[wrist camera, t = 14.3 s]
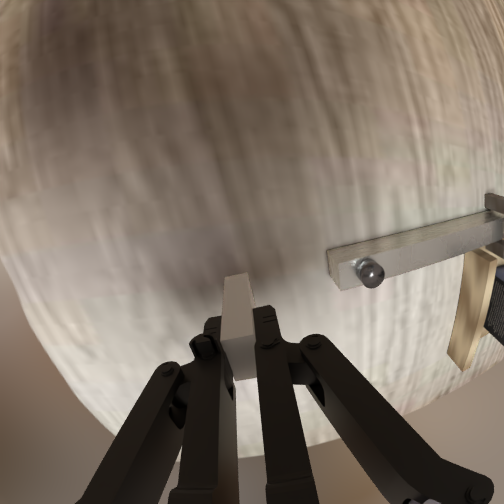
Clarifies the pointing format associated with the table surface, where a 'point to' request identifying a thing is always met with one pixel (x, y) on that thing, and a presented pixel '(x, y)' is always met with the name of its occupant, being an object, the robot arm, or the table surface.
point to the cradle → (476, 294)
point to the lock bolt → (412, 249)
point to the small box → (496, 307)
